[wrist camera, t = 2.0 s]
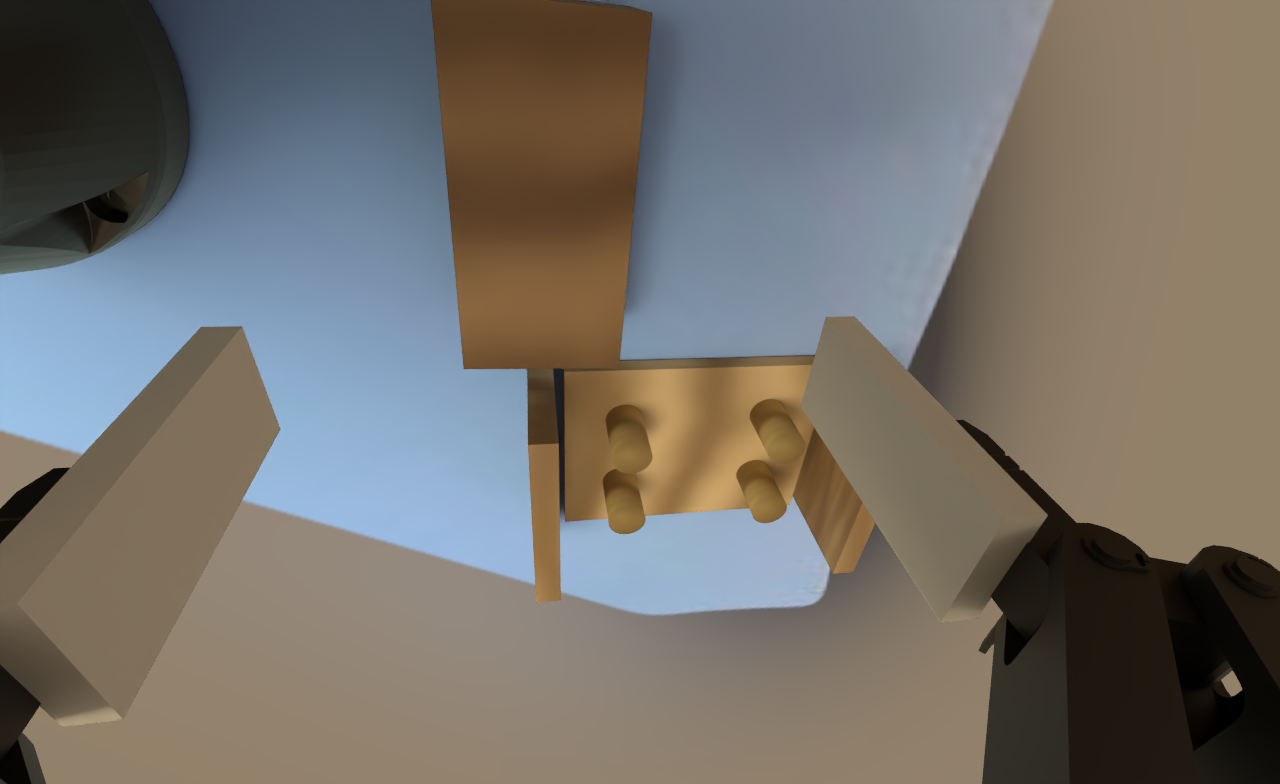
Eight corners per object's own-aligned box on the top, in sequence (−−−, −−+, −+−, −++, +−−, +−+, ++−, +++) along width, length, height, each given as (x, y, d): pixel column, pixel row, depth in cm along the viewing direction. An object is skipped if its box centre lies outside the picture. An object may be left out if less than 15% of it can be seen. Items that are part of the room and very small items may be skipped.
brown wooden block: (605, 313, 31) (618, 368, 27) (472, 311, 30) (463, 368, 26) (627, 6, 23) (652, 12, 19) (448, -16, 22) (429, -13, 18)
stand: (534, 512, 39) (536, 602, 33) (527, 363, 32) (527, 445, 26) (809, 493, 42) (853, 571, 37) (856, 354, 36) (918, 425, 30)
